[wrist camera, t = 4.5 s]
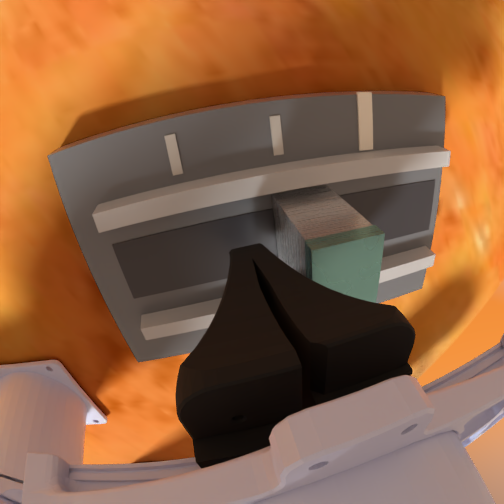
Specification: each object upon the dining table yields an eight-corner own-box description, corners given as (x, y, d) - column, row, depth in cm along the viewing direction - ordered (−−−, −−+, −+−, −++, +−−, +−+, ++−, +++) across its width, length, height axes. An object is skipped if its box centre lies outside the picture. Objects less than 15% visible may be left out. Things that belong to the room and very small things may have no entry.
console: (139, 344, 18) (138, 376, 16) (59, 145, 11) (37, 159, 9) (409, 276, 20) (429, 298, 18) (426, 90, 13) (459, 97, 11)
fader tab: (279, 280, 15) (312, 350, 12) (270, 193, 13) (311, 250, 9) (327, 268, 16) (370, 332, 12) (326, 183, 13) (384, 233, 9)
